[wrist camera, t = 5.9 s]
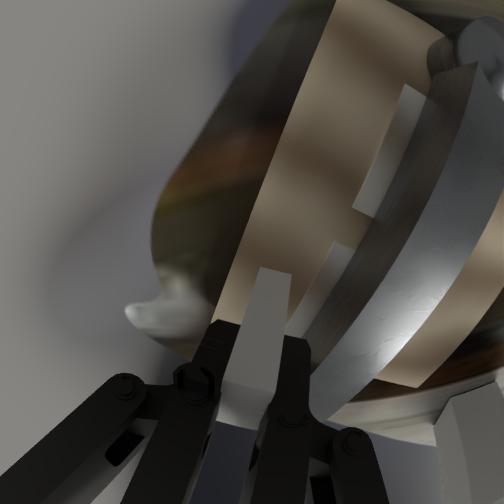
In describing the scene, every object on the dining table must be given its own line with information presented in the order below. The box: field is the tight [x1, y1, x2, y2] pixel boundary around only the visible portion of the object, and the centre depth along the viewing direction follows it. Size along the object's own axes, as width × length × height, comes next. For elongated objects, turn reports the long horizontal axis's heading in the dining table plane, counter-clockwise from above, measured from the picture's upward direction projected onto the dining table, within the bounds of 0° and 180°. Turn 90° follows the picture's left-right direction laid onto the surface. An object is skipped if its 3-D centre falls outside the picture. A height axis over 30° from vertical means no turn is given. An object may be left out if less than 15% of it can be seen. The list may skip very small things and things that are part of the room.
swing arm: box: [302, 16, 504, 423], centre depth 10 cm, size 23×4×4 cm, turn 160°
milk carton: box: [433, 382, 504, 504], centre depth 12 cm, size 7×7×19 cm
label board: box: [211, 0, 504, 388], centre depth 13 cm, size 22×18×2 cm
